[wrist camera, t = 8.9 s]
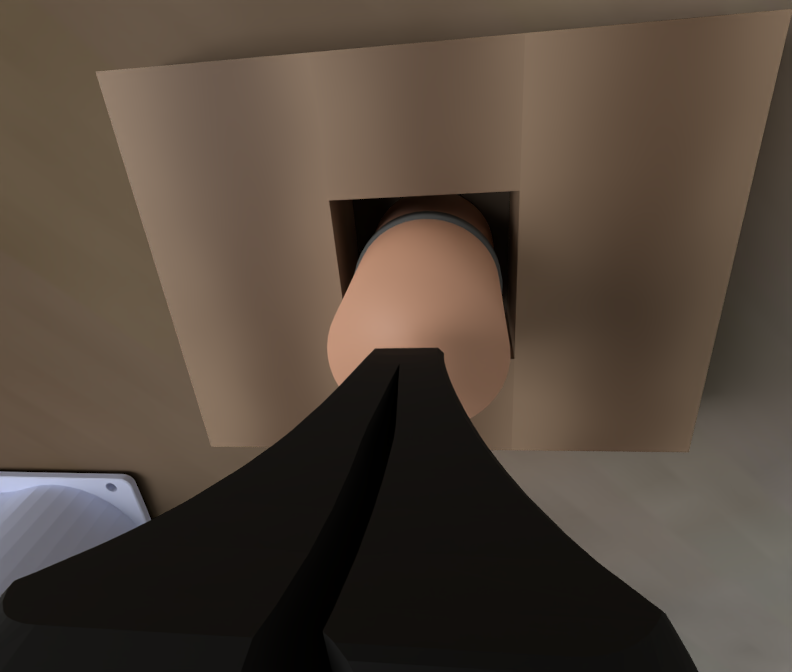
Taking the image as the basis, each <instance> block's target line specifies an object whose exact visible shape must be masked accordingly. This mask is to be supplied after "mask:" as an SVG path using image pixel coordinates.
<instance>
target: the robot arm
mask: <svg viewBox="0 0 792 672" xmlns="http://www.w3.org/2000/svg"><path fill="white" fill-rule="evenodd" d="M0 672H698V670H697V668H696V666H695V664H694V662H693V661H692V659H691V657H690V655H689V653H688V651H687V650H686V648H685V646H684V644H683V643H682V641H681V639H680V637H679V636H678V634H677V632H676V630H675V629H674V627H673V625H672V624H671V622H670V620H669V619H668V617H667V615H666V614H665V613H664V612H663V611H662V610H660V609H659V608H658V607H656V606H655V605H654V604H652V603H651V602H650V601H648V600H647V599H646V598H644V597H643V596H642V595H640V594H639V593H638V592H636V591H635V590H634V589H632V588H631V587H630V586H629V585H627V584H626V583H625V582H623V581H622V580H621V579H619V578H618V577H617V576H615V575H614V574H613V573H611V572H610V571H609V570H607V569H606V568H605V567H603V566H602V565H601V564H599V563H598V562H597V561H596V560H595V559H593V558H592V557H591V556H590V555H589V554H588V553H587V552H586V551H584V550H583V549H582V548H581V547H580V546H579V545H578V544H576V543H575V542H574V541H573V540H572V539H571V538H570V537H568V536H567V535H566V534H565V533H564V532H563V531H562V530H561V529H560V528H559V527H558V526H557V525H556V524H555V523H554V522H553V521H552V520H551V519H550V518H549V517H548V516H547V515H546V514H545V513H544V512H543V511H542V510H541V509H540V508H539V507H538V506H537V505H536V504H535V503H534V502H533V501H532V500H531V499H530V498H529V497H528V496H527V495H526V494H525V492H524V491H523V490H522V489H521V488H520V487H519V486H518V484H517V483H516V482H515V481H514V480H513V479H512V477H511V476H510V475H509V474H508V473H507V471H506V470H505V469H504V468H503V466H502V465H501V464H500V463H499V461H498V460H497V459H496V457H495V456H494V455H493V453H492V452H491V451H490V449H489V448H488V446H487V445H486V444H485V442H484V441H483V439H482V438H481V436H480V435H479V433H478V431H477V430H476V428H475V427H474V425H473V423H472V422H471V420H470V418H469V417H468V415H467V413H466V411H465V410H464V408H463V406H462V404H461V402H460V400H459V398H458V396H457V394H456V392H455V390H454V388H453V385H452V383H451V380H450V378H449V375H448V373H447V369H446V366H445V362H444V353H443V352H442V351H441V350H440V349H439V348H375V349H374V350H373V351H372V352H371V353H370V354H369V355H368V356H367V357H366V358H365V359H364V360H363V361H362V362H361V363H360V364H359V365H358V366H357V368H356V369H355V370H354V371H353V372H352V373H351V374H350V375H349V376H348V377H347V378H346V379H345V380H344V381H343V382H342V384H341V385H340V386H339V387H338V388H337V389H336V390H335V391H334V392H333V393H332V394H331V395H330V396H329V397H328V398H327V399H326V400H325V401H324V402H323V403H322V404H321V405H319V406H318V407H317V408H316V409H315V410H314V411H313V412H312V413H311V414H309V415H308V416H307V417H306V418H305V419H304V420H303V421H302V422H300V423H299V424H298V425H297V426H296V427H295V428H294V429H293V430H291V431H290V432H289V433H288V434H286V435H285V436H284V437H283V438H281V439H280V440H279V441H278V442H276V443H275V444H274V445H272V446H271V447H270V448H268V449H267V450H266V451H264V452H263V453H261V454H260V455H259V456H257V457H256V458H254V459H253V460H252V461H250V462H249V463H247V464H246V465H244V466H243V467H241V468H240V469H238V470H237V471H235V472H234V473H232V474H230V475H229V476H227V477H225V478H224V479H222V480H221V481H219V482H217V483H216V484H214V485H212V486H211V487H209V488H208V489H206V490H204V491H203V492H201V493H199V494H198V495H196V496H194V497H193V498H191V499H189V500H188V501H186V502H184V503H182V504H180V505H178V506H177V507H175V508H173V509H171V510H169V511H167V512H165V513H164V514H162V515H160V516H158V517H156V518H154V519H152V520H151V518H150V516H149V513H148V511H147V508H146V506H145V503H144V501H143V499H142V496H141V494H140V491H139V489H138V486H137V484H136V482H135V480H134V479H133V478H132V477H131V476H129V475H126V474H99V473H47V472H0Z"/></svg>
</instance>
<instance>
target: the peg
mask: <svg viewBox="0 0 792 672" xmlns="http://www.w3.org/2000/svg"><path fill="white" fill-rule="evenodd" d="M375 348H439V349H440V350H441V351H442V352H443V353H444V362H445V366H446V369H447V373H448V375H449V378H450V380H451V383H452V385H453V388H454V390H455V392H456V394H457V396H458V398H459V400H460V402H461V404H462V406H463V408H464V410H465V411H466V413H467V415H468V417H469V418H472V417H474V416H475V415H477V414H478V413H479V412H481V411H482V410H483V409H485V408H486V407H487V406H488V405H489V404H490V403H491V402H492V401H493V399H494V398H495V397H496V396H497V394H498V393H499V391H500V390H501V388H502V386H503V384H504V382H505V380H506V377H507V374H508V370H509V365H510V343H509V337H508V331H507V325H506V318H505V312H504V306H503V300H502V275H501V270H500V264H499V261H498V258H497V255H496V253H495V250H494V244H493V238H492V233H491V230H490V227H489V225H488V223H487V221H486V219H485V218H484V216H483V215H482V213H481V212H480V211H479V210H478V209H477V208H476V207H475V206H474V205H473V204H472V203H470V202H469V201H468V200H466V199H464V198H463V197H461V196H458V195H456V194H445V195H426V196H407V197H404V198H402V199H400V200H399V201H397V202H396V203H395V204H393V205H392V206H391V207H390V208H389V209H388V210H387V212H386V213H385V214H384V215H383V217H382V219H381V220H380V222H379V224H378V226H377V228H376V230H375V232H374V234H373V236H372V237H371V238H370V239H369V241H368V242H367V244H366V246H365V247H364V249H363V251H362V253H361V255H360V257H359V260H358V262H357V265H356V269H355V274H354V276H353V279H352V281H351V283H350V285H349V287H348V289H347V291H346V293H345V295H344V297H343V300H342V302H341V304H340V306H339V308H338V310H337V312H336V314H335V316H334V319H333V321H332V324H331V326H330V330H329V334H328V342H327V353H328V361H329V365H330V369H331V371H332V374H333V377H334V379H335V381H336V382H337V384H338V386H340V385H341V384H342V382H343V381H344V380H345V379H346V378H347V377H348V376H349V375H350V374H351V373H352V372H353V371H354V370H355V369H356V368H357V366H358V365H359V364H360V363H361V362H362V361H363V360H364V359H365V358H366V357H367V356H368V355H369V354H370V353H371V352H372V351H373V350H374V349H375Z"/></svg>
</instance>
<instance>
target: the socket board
mask: <svg viewBox="0 0 792 672" xmlns="http://www.w3.org/2000/svg"><path fill="white" fill-rule="evenodd" d="M791 14H792V9H786V10H775V11H764V12H753V13H742V14H731V15H719V16H708V17H697V18H686V19H675V20H664V21H653V22H642V23H631V24H620V25H609V26H597V27H586V28H575V29H564V30H553V31H542V32H531V33H520V34H509V35H498V36H487V37H475V38H464V39H453V40H442V41H431V42H420V43H409V44H398V45H387V46H376V47H364V48H353V49H342V50H331V51H320V52H309V53H298V54H287V55H276V56H265V57H254V58H242V59H231V60H220V61H209V62H198V63H187V64H176V65H165V66H154V67H143V68H131V69H120V70H109V71H98V72H96V74H97V78H98V81H99V84H100V87H101V91H102V94H103V97H104V100H105V104H106V107H107V110H108V113H109V117H110V120H111V123H112V126H113V129H114V133H115V136H116V139H117V142H118V146H119V149H120V152H121V155H122V159H123V162H124V165H125V168H126V172H127V175H128V178H129V181H130V185H131V188H132V191H133V194H134V198H135V201H136V204H137V207H138V211H139V214H140V217H141V220H142V223H143V227H144V230H145V233H146V236H147V240H148V243H149V246H150V249H151V253H152V256H153V259H154V262H155V266H156V269H157V272H158V275H159V279H160V282H161V285H162V288H163V292H164V295H165V298H166V301H167V305H168V308H169V311H170V314H171V317H172V321H173V324H174V327H175V330H176V334H177V337H178V340H179V343H180V347H181V350H182V353H183V356H184V360H185V363H186V366H187V369H188V373H189V376H190V379H191V382H192V386H193V389H194V392H195V395H196V399H197V402H198V405H199V408H200V411H201V415H202V418H203V421H204V424H205V428H206V431H207V434H208V437H209V441H210V444H211V447H271V446H272V445H274V444H275V443H276V442H278V441H279V440H280V439H281V438H283V437H284V436H285V435H286V434H288V433H289V432H290V431H291V430H293V429H294V428H295V427H296V426H297V425H298V424H299V423H300V422H302V421H303V420H304V419H305V418H306V417H307V416H308V415H309V414H311V413H312V412H313V411H314V410H315V409H316V408H317V407H318V406H319V405H321V404H322V403H323V402H324V401H325V400H326V399H327V398H328V397H329V396H330V395H331V394H332V393H333V392H334V391H335V390H336V389H337V388H338V387H339V386H338V384H337V382H336V381H335V379H334V377H333V374H332V371H331V369H330V365H329V361H328V353H327V342H328V334H329V330H330V326H331V324H332V321H333V319H334V316H335V314H336V312H337V310H338V308H339V306H340V304H341V302H342V300H343V297H344V295H345V293H346V291H347V289H348V287H349V285H350V283H351V281H352V279H353V276H354V274H355V269H356V265H357V262H358V260H359V253H358V244H357V235H356V227H355V218H354V210H353V201H352V199H368V198H387V197H407V196H426V195H445V194H465V193H484V192H503V191H510V209H509V251H508V294H507V315H505V318H506V325H507V331H508V337H509V343H510V365H509V370H508V374H507V377H506V380H505V382H504V384H503V386H502V388H501V390H500V391H499V393H498V394H497V396H496V397H495V398H494V399H493V401H492V402H491V403H490V404H489V405H488V406H487V407H486V408H485V409H483V410H482V411H481V412H479V413H478V414H477V415H475V416H474V417H472V418H470V420H471V422H472V423H473V425H474V427H475V428H476V430H477V431H478V433H479V435H480V436H481V438H482V439H483V441H484V442H485V444H486V445H487V446H488V448H489V449H490V450H548V451H633V452H689V449H690V444H691V440H692V436H693V431H694V427H695V423H696V419H697V414H698V410H699V406H700V402H701V397H702V393H703V389H704V385H705V380H706V376H707V372H708V368H709V363H710V359H711V355H712V351H713V346H714V342H715V338H716V334H717V329H718V325H719V321H720V317H721V312H722V308H723V304H724V300H725V295H726V291H727V287H728V283H729V278H730V274H731V270H732V265H733V261H734V257H735V253H736V248H737V244H738V240H739V236H740V231H741V227H742V223H743V219H744V214H745V210H746V206H747V202H748V197H749V193H750V189H751V185H752V180H753V176H754V172H755V168H756V163H757V159H758V155H759V151H760V146H761V142H762V138H763V134H764V129H765V125H766V121H767V117H768V112H769V108H770V104H771V99H772V95H773V91H774V87H775V82H776V78H777V74H778V70H779V65H780V61H781V57H782V53H783V48H784V44H785V40H786V36H787V31H788V27H789V23H790V19H791Z"/></svg>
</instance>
